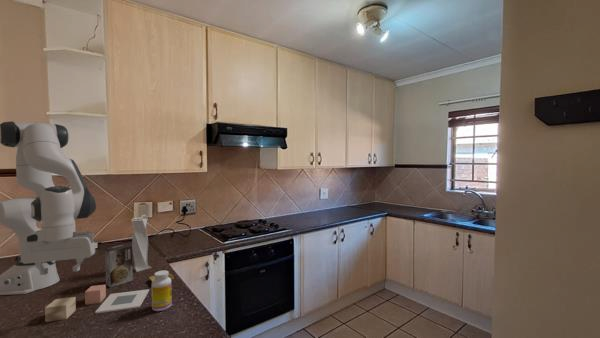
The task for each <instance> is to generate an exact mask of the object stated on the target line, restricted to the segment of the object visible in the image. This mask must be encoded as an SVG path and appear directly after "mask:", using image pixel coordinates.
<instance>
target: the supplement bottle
mask: <svg viewBox="0 0 600 338" xmlns="http://www.w3.org/2000/svg"><path fill="white" fill-rule="evenodd" d="M169 273H170V272H169V270H165V269H164V270H163V269H162V270H159V271H155V272H154V275H153V276H154V277H155V280H154V281H153V282H152V281H151V309H152V311H155V312H161V311H165V310H168V309H170V308H171V306H172V304H173V303H172V302H173V300H172V298H173V293H172V292H173V289H172V287H173V286H172V281H171V279H170V278H169V277H168V275H169Z"/></svg>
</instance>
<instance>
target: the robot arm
mask: <svg viewBox="0 0 600 338" xmlns="http://www.w3.org/2000/svg"><path fill="white" fill-rule="evenodd" d="M69 141H70V133H69V131H68V129H67V127H66V126H64V125H62V124H56V123H54V124H52V123H46V122H37V121H36V122H31V121H16V122H15V121H13V120H12V121H3V122H1V123H0V144H1V145H3V146H4V147H8V148H17V149H16V154H15V156H16V157H15V170H16V171H15V172H16V173H15V176H16V183H17V185H19V186H20V187H21V188H23V189H26V190H29V191H33V192H34V193H35V195H36V196H34V197H20V198H12V199H8V200H3V201H0V225H1V226H4V227H7V228H8V229H9V230H11V231H12V232H13V233H14V234H15V235H16V237H17V241H18V247H19V255H18V256H16V257H15V258H12V259H11V262H12V263H13V262H14V264H13V265H12V266H11V267H10V268H9V267H8V269H7V270H5V271H3V272H2V273H1V274H0V296H6V295H7V296H9V295H11V296H12V295H25V294H29V293H32V292H34V291H37V290H38V291H39V290H41V289H45V288H47V287H51V286H53V285H55V284H57V283H59V281H60V280H61V279H60V276H59V274H58V269H57V264H56V262H57V261H58V262H59V261H68V260H75V261H76V262H77V263H76V264H75V265H74V266H72V272H73V273H74V272H78V271H80V270H81V265H82V262H83V261H84V259H89V258H91V257H92V256H94V255H95V253H96V246H95V234H94V233H93V232H91V231H89V230H85V231H77V230H76V219H77V220H78V219H87V218H88V217H91V216H92V214H93V213H94V212H95V211H96V209H97V204H96V199H95V197H94V195H93V194H92V192H90V189H89V188H88V185H87V183H86V182H85V179H84V176H83V175H82V173H81V171H80V169H79V166H78V165H77V163H76V162H75V161H74V159H71V158H69V157H68V156H67V155H66V154H65V153H64V152H63V151H62V148H64V147H66V146H67V145H68V144H69V143H68V142H69ZM52 174H54V175H58V176H60V177H63V178H65V179H66V180H67V181H68V184H69V185H70V187H68V186H62V185H61V186H60V185H58V186H57V185H55V184H54V180H53V175H52ZM38 222H39V223H42V224H41V228H40V227H38V226H37V223H38Z"/></svg>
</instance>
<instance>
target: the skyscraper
mask: <svg viewBox="0 0 600 338" xmlns="http://www.w3.org/2000/svg"><path fill="white" fill-rule="evenodd" d="M144 217H146V218H144ZM148 220H149V218H148V215H146V214H143V215H141V216H140V217H134V218H132V219H131V224H132V228H133V232H132V239H131V246H132V258H133V261H134V262H133V263H134V265H133V271H134V272H136V273H139V272H142V271H145V270H149V269H152V268H153V267H152V266H151V265H149V263H148V262H149V261H148V260H149V258H148V250H149V236H148V232H147V224H148Z"/></svg>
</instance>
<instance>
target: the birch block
mask: <svg viewBox="0 0 600 338" xmlns="http://www.w3.org/2000/svg"><path fill="white" fill-rule="evenodd" d="M76 301H77V300H76V296H72V297H65V298H56V299H54V300H53V301H52V302H51V303H49V304H48V305H47V306H45V307H44V316H45V317H44V322H56V321H63V320H68V319H69V318H70V316H72V315H73V313H75V312H76V310H77V309H76V307H77V305H76V304H77V302H76Z"/></svg>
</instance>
